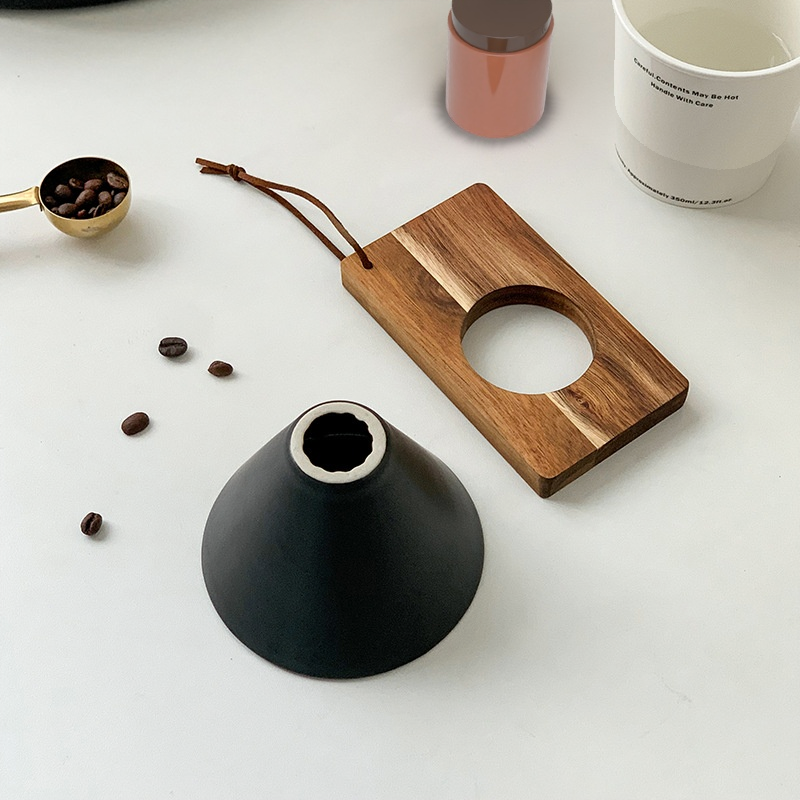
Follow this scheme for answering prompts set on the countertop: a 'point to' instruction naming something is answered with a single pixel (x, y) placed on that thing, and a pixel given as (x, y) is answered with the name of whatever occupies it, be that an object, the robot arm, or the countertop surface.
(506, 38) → the jar
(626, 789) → the countertop surface
